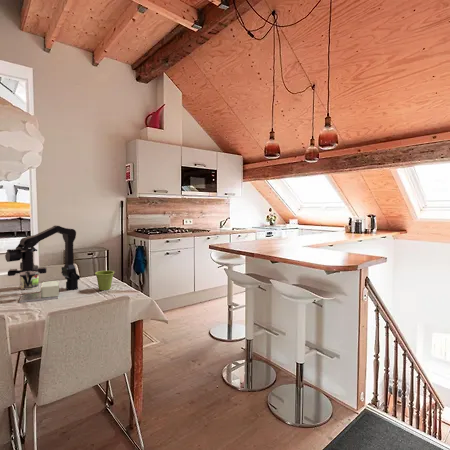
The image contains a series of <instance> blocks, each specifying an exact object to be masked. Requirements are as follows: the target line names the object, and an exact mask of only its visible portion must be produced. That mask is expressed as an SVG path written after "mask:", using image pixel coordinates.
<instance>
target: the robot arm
mask: <svg viewBox="0 0 450 450" xmlns="http://www.w3.org/2000/svg"><path fill="white" fill-rule="evenodd" d="M56 234H61V235H62V239H63V241H64V265H63V266H62V267H61V272H60V273H61V274H62V277H64V278H65V280H66V281H65V289H66V291H71V290H79V283H78V282H79V280H80V279H81V276H80V275H79V274H78V273H77V270H76V266H75V265H74V242H75V240H76V237H77V231H76V230H75V229H74V228H68V227H67V228H66V227H62V226H61V225H55V224H54V225H52V227H49V228H47V229H44V230H43V231H40V232H39V233H36V234H34V235H29V236H25V237H22V238H21V239H20V241H19V243H18V245H16V247H15V248H13V249H6V253H5V255H4V257H5V260H6V262H8V263H10V262H17V261H20V260H21V262H20V265H19V269H17V268H12V269H11V268H10V269H9V270H8V271H7V277H11V276H13V277H14V276H16V275H17V274H19V277H20V278H21V276H22V277H23V279H24V280H25V282H26V284H27V286H29V284H30V281H31V278H32V276H34V275H35V274H36V272H38V273H39V274H47V272H48V271H47V270H48V269H47V267H46V266H40V267H38V269H34V265H35V263H34V252H37V251H38V249H36V247H35V246H37V245H38V243H40V242H41V241H42V240H43V241H44V239H47V238H49V237H51V236H53V235H56ZM20 268H22V270H20ZM27 273H30V274H29V279H28V278H27Z"/></svg>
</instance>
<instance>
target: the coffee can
mask: <svg viewBox="0 0 450 450" xmlns="http://www.w3.org/2000/svg"><path fill="white" fill-rule="evenodd" d="M34 269H39V265H38V264H34ZM19 270H22V268H20V267H19ZM29 274H30V273H27V278H28V279H29ZM39 274H40V273H38V272H36V274H35V275H34V276H32V278H31V281H30V284H29V286H27V284H26V282H25V280H24V279H23V277H22V276H21V277H20V290H23V289H25V290H26V289H28V290H34V289H38V288H39V287H40V284H39V283H40V282H39V280H40V278H39V276H40V275H39Z"/></svg>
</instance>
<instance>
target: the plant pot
mask: <svg viewBox="0 0 450 450" xmlns="http://www.w3.org/2000/svg"><path fill="white" fill-rule="evenodd" d="M114 274H115V270H99V271H96V272H95V277H96V280H97V285H98V286H97V287H98V290H99V291H102V290H106V291H108V289H110V288H112V283H113V282H112V281H113V278H114ZM110 290H111V289H110Z"/></svg>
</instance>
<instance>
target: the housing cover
mask: <svg viewBox="0 0 450 450" xmlns="http://www.w3.org/2000/svg"><path fill="white" fill-rule="evenodd" d="M40 293H41V298H43V297H53V296H58V297H60V280H51V281H43V282H42V283H41V286H40Z"/></svg>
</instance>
